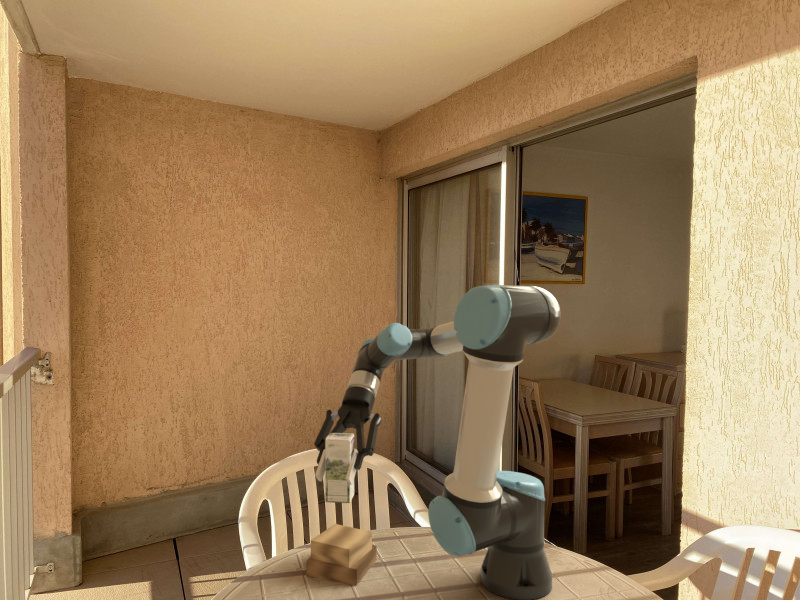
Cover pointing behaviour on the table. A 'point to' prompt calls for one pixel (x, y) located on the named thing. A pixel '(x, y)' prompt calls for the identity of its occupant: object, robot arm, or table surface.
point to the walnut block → (341, 569)
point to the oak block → (341, 545)
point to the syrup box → (338, 467)
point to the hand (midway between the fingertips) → (333, 479)
